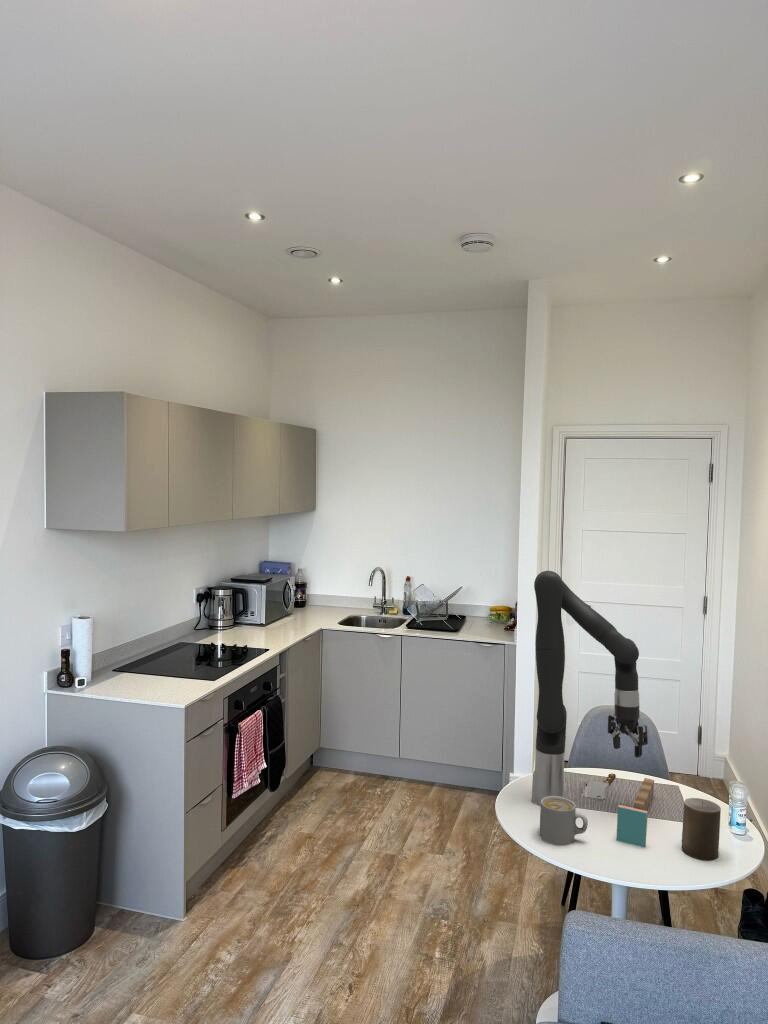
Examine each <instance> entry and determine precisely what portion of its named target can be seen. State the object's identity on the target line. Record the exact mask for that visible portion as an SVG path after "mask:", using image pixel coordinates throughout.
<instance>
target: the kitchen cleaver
mask: <svg viewBox="0 0 768 1024" xmlns="http://www.w3.org/2000/svg"><path fill="white" fill-rule="evenodd" d="M616 778H617V776H616V773H609V774H608V776H607V777H606V779H605V780H604V781H595V780H588V781H589V782H591V783H590V787H591V788H590V792H589V793H588V796H589V798H588V799H591V798H593V799H592V800H595V799H597V800H596V801H599V800H601V801H600V802H603V800H605V801H606V792H605V791H607V790H606V789H608V788H609V787H610V786H611V784H612V783H613V782H614V781H615V779H616ZM599 797H600V798H599Z"/></svg>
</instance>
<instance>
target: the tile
mask: <svg viewBox="0 0 768 1024" xmlns="http://www.w3.org/2000/svg"><path fill="white" fill-rule="evenodd" d="M648 811H649V810H648ZM648 811H644V810H640V809H635V808H633V807H630V806H626V805H621V804H618V806H617V818H616V819H617V821H616V840H615V841H618V842H621V843H625V844H629V845H633V846H636V847H642V848H646V847H647V835H648V834H647V831H648Z"/></svg>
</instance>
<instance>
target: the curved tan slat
mask: <svg viewBox="0 0 768 1024" xmlns="http://www.w3.org/2000/svg"><path fill="white" fill-rule="evenodd" d="M654 792H655V779H650V778H647V777H644V779H643V781H642V783H641V786H640V788H639V790H638V792H637V795H636V796H635V799H634V801H633V807H632V808H635V809H640V810H644V811H649V809H650V807H651V804H652V801H653V799H654V795H655V794H654Z"/></svg>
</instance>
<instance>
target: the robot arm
mask: <svg viewBox="0 0 768 1024" xmlns="http://www.w3.org/2000/svg"><path fill="white" fill-rule="evenodd" d="M533 587H534V594H535V599H536V607H537V608H536V609H537V624H536V630H535V663H536V664H535V667H536V676H537V682H538V698H537V699H538V701H537V702H538V704H537V711H536V720H537V721H536V722H537V725H536V726H537V727H536V737H535V739H536V740H535V758H534V760H535V761H534V762H535V763H534V771H533V773H532V786H531V787H532V788H531V802H532V803H535V804H537V805H538V806H540V807H541V800H542V799H543V798H544V797H548V796H559V797H564V778H565V777H564V776H565V756H566V755H565V754H566V741H567V740H566V739H567V738H566V737H567V736H566V735H567V719H568V718H567V715H568V713H567V708H566V706H565V704H564V699H563V698H564V697H563V685H564V675H565V668H566V648H565V647H566V645H565V643H566V642H565V634H564V627H563V621H562V610H564V611H565V612H566V613H567V614H568V615H569V616H570V617H571V618H572V619H573V621H575V622H576V623H577V624H578V625H579V627H581V628H582V629H583V630H584V631H585V632H586V633H587V634H588V635H589V636H591V637H592V638H593V639H594V640H596V641H597V642H598V643H599V644H600V645H602V646H603V647H604V648H605V649H606V650H607V651H608V652H609V653H610V654H611V656H613V659H614V668H615V671H614V673H615V674H614V694H613V695H614V698H613V699H614V713H613V714H610V715H608V717H607V733H608V734H610V735H611V736H612V745H613V749H615V750H618V749H620V748H621V735H622V734H625V735H626V736H629V738H630V739H631V740H632V741H633V744H634V757H635V758H637V759H638V758H641V757H642V756H643V746H646V745H648V744H649V738H648V727H647V725H645V724H644V725H641V724H639V719H640V717H641V716H640V692H639V674H638V671H637V661H638V659H639V658H640V652H639V651H640V650H639V648H638V647H637V644H636V643H635V642H634V640H632V639H630V638H626V637H625V636H624V635H623V634H621V632H619V631H618V630H617V628H616V627H615V626H614V625H613V624H612V623H611V622H610V621H608V620H607V618H605V617H603V615H601V614H600V613H599V612H597V611H596V610H595V609H593V608H592V607H591V606H590V605H588V604H587V603H586V602H585V601H584V600H582V599H581V598H580V597H579V596H578V595H577V594H575V593H574V591H573V590H571V588H570V587H569V586H568V585H567V584H566V583H565V582H564V580H563V578H562V577H561V576H560V575H559V574H558V573H557V572H555V571H552V570H543V571H541V572H540V573H539V574H537V575H536V577H535V579H534V584H533Z"/></svg>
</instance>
